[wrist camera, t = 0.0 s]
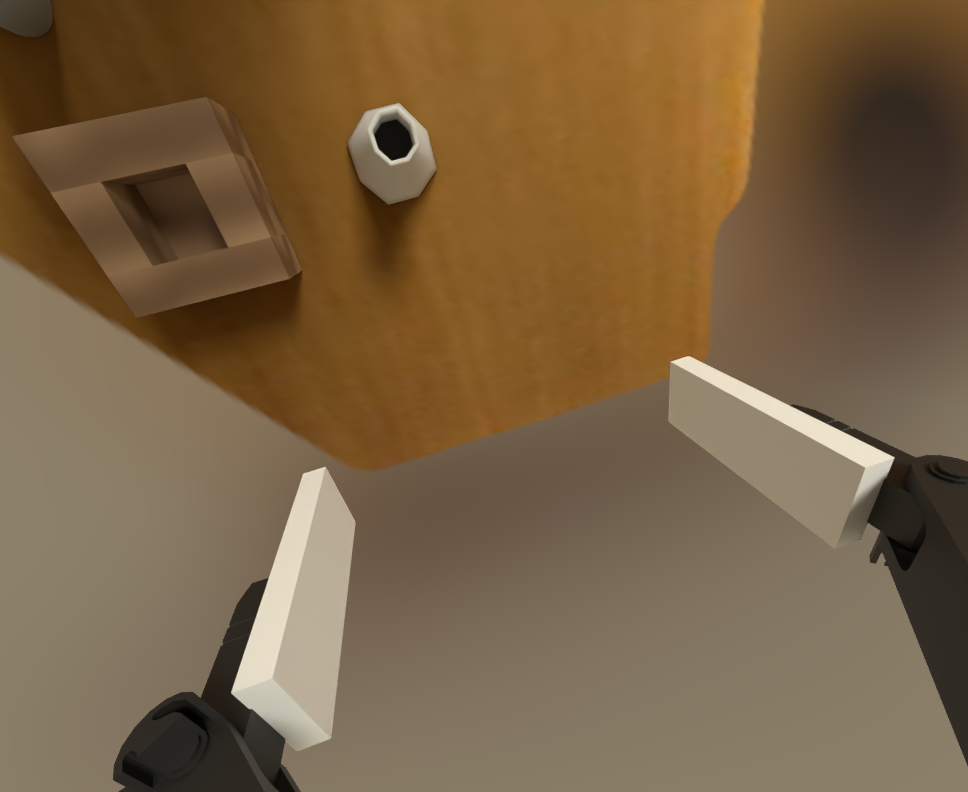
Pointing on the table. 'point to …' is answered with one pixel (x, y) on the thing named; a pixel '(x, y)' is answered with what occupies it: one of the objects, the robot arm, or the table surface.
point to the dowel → (26, 17)
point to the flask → (392, 153)
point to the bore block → (166, 202)
